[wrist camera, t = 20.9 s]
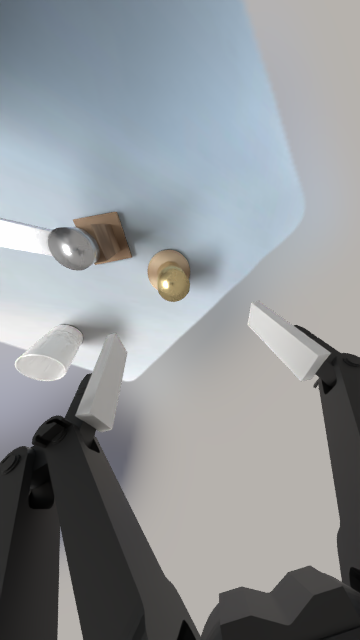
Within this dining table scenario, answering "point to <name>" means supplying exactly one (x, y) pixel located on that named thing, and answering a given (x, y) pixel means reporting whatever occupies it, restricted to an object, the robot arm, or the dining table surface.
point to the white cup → (51, 354)
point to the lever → (52, 243)
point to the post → (106, 236)
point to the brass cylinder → (172, 282)
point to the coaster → (162, 258)
